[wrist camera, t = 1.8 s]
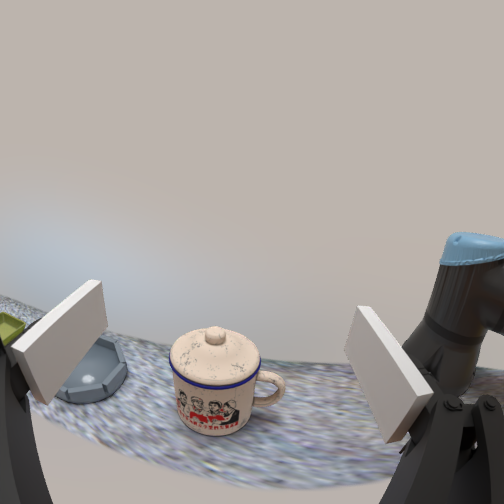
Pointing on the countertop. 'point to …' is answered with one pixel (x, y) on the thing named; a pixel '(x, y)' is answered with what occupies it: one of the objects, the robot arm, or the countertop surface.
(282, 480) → the countertop surface
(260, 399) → the teacup with lid
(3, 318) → the green shallow square dish
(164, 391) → the countertop surface
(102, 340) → the ashtray
